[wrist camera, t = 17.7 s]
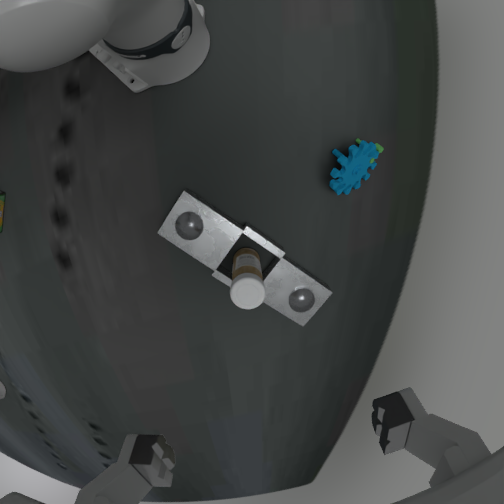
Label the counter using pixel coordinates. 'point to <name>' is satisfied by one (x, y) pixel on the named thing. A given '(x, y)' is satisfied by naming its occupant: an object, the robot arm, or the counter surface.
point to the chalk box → (1, 208)
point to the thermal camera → (2, 390)
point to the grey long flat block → (221, 241)
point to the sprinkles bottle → (247, 279)
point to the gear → (354, 166)
